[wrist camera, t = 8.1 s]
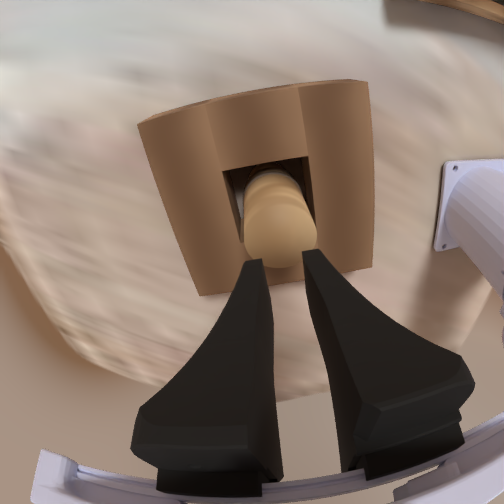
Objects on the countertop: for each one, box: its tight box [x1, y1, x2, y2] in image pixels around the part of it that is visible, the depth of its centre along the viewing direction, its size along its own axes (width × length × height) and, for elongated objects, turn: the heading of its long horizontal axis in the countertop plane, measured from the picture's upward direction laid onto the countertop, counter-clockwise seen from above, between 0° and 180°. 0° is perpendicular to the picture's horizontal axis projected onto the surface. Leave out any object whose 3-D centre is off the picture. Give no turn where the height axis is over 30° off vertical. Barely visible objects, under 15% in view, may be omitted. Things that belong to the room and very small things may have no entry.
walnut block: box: [137, 79, 375, 296], centre depth 17 cm, size 12×12×3 cm
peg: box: [243, 162, 317, 268], centre depth 16 cm, size 3×3×7 cm
